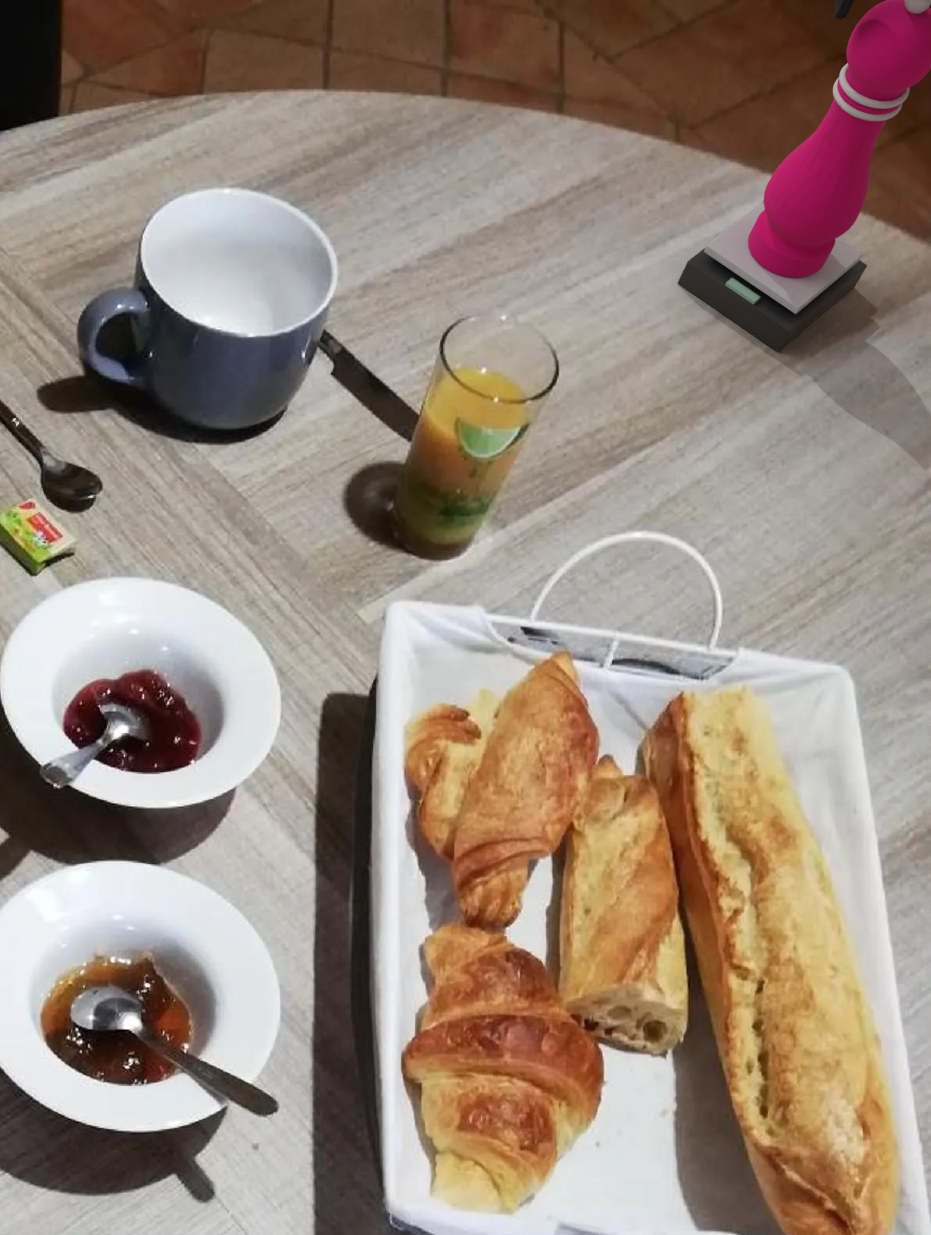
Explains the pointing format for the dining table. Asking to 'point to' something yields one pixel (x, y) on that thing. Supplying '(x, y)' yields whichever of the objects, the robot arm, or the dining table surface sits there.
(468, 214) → the dining table surface
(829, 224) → the pepper mill
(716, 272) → the scale
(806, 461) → the dining table surface
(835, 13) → the robot arm
